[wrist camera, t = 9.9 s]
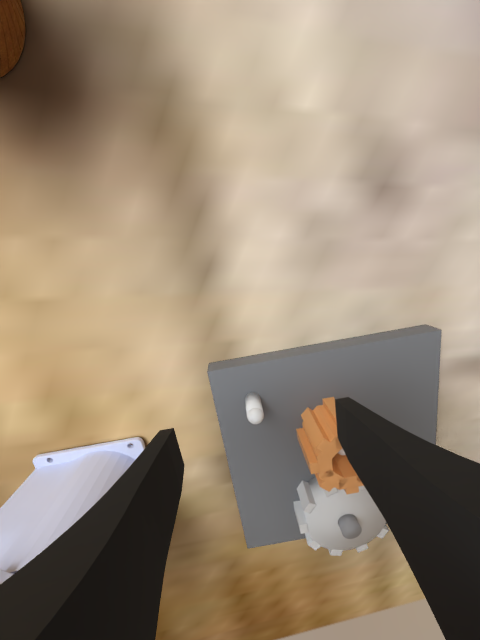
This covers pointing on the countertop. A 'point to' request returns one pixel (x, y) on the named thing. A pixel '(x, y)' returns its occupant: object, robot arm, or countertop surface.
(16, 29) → the disposable coffee cup
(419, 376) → the gear board
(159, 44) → the countertop surface
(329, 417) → the orange gear
